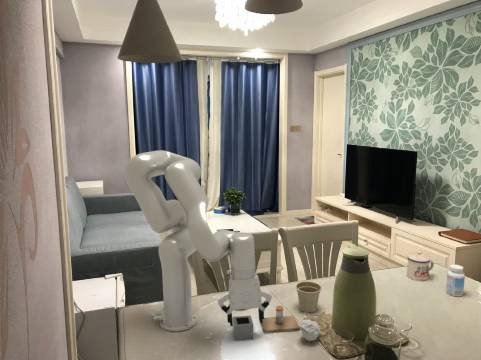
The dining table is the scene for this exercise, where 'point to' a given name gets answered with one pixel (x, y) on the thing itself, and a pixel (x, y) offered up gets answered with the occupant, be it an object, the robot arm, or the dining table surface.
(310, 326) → the crumpled paper ball
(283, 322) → the keeper
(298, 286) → the flower pot
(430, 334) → the dining table surface
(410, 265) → the teacup with lid
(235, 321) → the link
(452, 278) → the pill bottle
